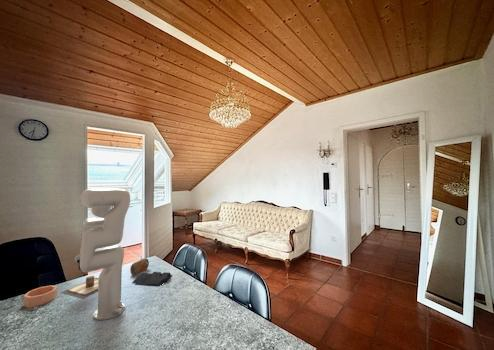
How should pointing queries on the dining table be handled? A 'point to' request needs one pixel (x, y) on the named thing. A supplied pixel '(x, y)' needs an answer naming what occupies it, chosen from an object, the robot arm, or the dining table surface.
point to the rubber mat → (78, 294)
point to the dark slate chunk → (152, 279)
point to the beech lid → (86, 286)
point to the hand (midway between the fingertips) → (90, 266)
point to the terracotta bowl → (39, 296)
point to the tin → (139, 266)
